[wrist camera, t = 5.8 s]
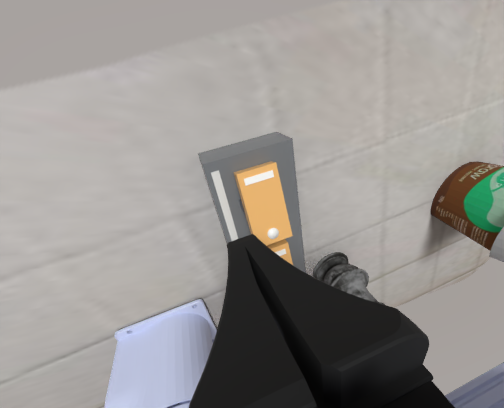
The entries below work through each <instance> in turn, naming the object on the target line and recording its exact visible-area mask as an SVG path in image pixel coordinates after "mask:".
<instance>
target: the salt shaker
mask: <svg viewBox="0 0 504 408" xmlns="http://www.w3.org/2000/svg"><path fill="white" fill-rule="evenodd" d="M313 277H314V278H316V279H318V280H320V281H322V282H324V283H326V284H328V285H330V286H333V287H335V288H338V289H340V290H342V291H345V292H347V293H349V294H352V295H355V296H357V297H360V298H363V299H366V300H369V301H372V302H376V303H379V302H378V301H377V300H376V299H375V298H374V297H373V296H372V295H371V294H370V293H369V291H368V290H367V288H366V287H367V284H368V281H369V276H368V274H367V272H366V271H365V270H362V269H359V268H358V267H356V266H353V265H350V264H348V258H347V256H346V255H345V254H343V253H339V252H336V253H331V254H329V255H327V256H325V257H324V258H322V259H321V260H320V261H319V262H318V264H317V265H316V266H315V269H314V271H313ZM379 304H382V305H385V304H383V303H379Z"/></svg>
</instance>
